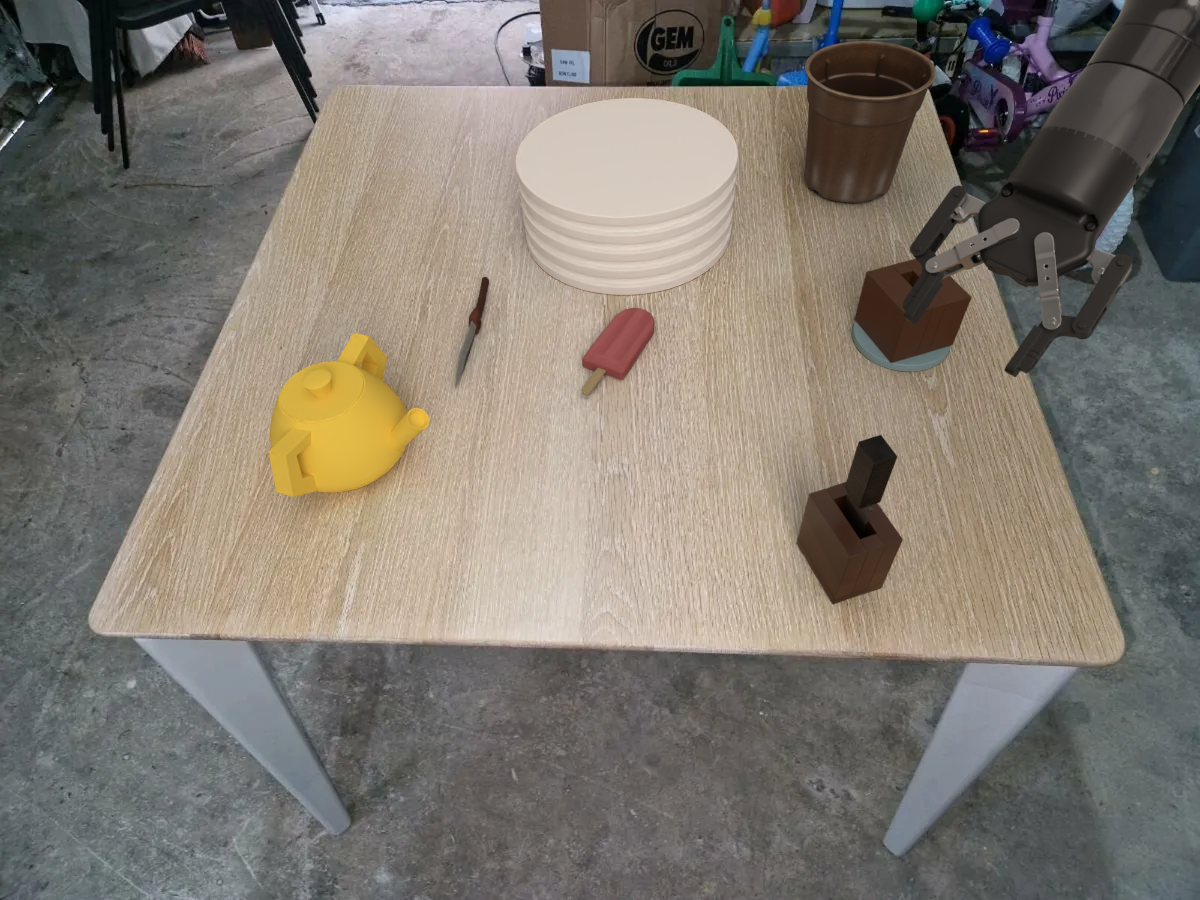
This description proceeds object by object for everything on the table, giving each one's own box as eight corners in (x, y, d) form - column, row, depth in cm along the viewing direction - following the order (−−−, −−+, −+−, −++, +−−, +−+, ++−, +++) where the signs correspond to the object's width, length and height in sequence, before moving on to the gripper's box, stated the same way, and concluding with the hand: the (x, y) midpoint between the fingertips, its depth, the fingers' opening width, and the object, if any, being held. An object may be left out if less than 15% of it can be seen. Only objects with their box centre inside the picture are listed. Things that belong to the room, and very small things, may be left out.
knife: (463, 396, 90) (458, 377, 88) (449, 395, 91) (444, 376, 88) (495, 291, 102) (491, 272, 100) (483, 291, 102) (479, 272, 100)
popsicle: (562, 381, 89) (623, 302, 97) (563, 391, 90) (623, 311, 98) (605, 396, 87) (663, 314, 95) (605, 406, 88) (663, 324, 96)
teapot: (403, 545, 78) (373, 477, 69) (241, 509, 82) (194, 440, 73) (478, 400, 90) (460, 326, 81) (333, 374, 94) (302, 301, 85)
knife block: (842, 527, 77) (859, 477, 70) (881, 587, 72) (903, 539, 66) (795, 543, 76) (808, 493, 70) (832, 604, 71) (849, 557, 65)
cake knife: (841, 543, 74) (879, 431, 62) (858, 569, 73) (900, 459, 60) (822, 549, 74) (856, 438, 62) (838, 575, 72) (876, 466, 60)
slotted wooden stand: (915, 298, 97) (932, 244, 91) (969, 356, 90) (993, 302, 84) (834, 321, 95) (847, 266, 89) (884, 382, 89) (901, 328, 82)
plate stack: (574, 321, 98) (566, 243, 89) (498, 205, 114) (485, 130, 105) (770, 255, 104) (781, 176, 95) (671, 155, 121) (673, 79, 112)
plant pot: (783, 151, 120) (798, 40, 107) (892, 148, 119) (921, 36, 106) (795, 214, 109) (814, 99, 97) (915, 211, 108) (949, 96, 96)
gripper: (992, 95, 57) (866, 295, 62) (1200, 166, 50) (1042, 386, 55) (1004, 135, 64) (889, 314, 68) (1191, 204, 57) (1050, 399, 61)
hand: (958, 346), depth 61 cm, fingers open, 8 cm apart
